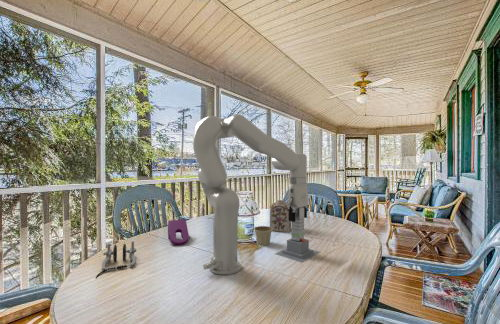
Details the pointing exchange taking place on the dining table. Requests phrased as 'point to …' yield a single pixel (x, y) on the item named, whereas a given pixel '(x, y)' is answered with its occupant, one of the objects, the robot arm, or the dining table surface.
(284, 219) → the decorative jar
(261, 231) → the flower pot
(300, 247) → the stand base
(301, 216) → the column
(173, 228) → the mounting bracket
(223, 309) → the dining table surface
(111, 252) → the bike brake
